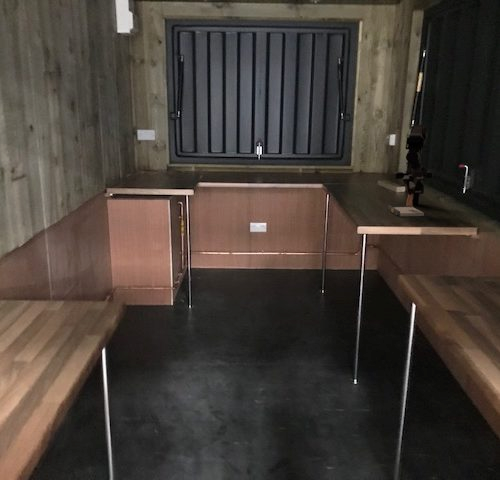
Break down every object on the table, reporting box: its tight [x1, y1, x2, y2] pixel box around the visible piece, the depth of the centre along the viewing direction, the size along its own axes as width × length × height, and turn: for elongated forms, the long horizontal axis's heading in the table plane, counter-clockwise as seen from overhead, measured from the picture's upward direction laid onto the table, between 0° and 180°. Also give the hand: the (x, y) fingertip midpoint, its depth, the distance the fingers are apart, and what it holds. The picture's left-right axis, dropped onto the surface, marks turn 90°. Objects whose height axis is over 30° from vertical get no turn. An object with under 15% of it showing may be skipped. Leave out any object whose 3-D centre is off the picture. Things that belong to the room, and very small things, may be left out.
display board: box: [387, 205, 425, 217], centre depth 256 cm, size 15×13×2 cm
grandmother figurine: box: [405, 182, 415, 208], centre depth 254 cm, size 8×4×13 cm, turn 2°
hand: (411, 192), depth 254 cm, fingers closed on grandmother figurine, 3 cm apart
